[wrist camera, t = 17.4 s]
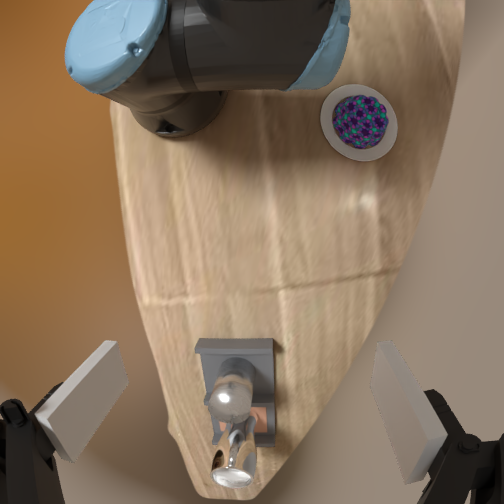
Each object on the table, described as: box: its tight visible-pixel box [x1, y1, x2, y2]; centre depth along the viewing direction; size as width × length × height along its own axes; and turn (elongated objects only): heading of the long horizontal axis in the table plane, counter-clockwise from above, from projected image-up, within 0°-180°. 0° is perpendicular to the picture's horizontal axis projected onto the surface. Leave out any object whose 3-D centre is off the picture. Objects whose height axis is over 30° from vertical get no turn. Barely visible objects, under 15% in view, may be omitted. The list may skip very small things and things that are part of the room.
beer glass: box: [210, 410, 258, 489], centre depth 43 cm, size 7×7×15 cm
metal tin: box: [208, 357, 255, 424], centre depth 43 cm, size 6×6×10 cm
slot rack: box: [195, 338, 275, 447], centre depth 48 cm, size 23×12×3 cm, turn 3°
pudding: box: [320, 84, 398, 161], centre depth 37 cm, size 12×12×5 cm
